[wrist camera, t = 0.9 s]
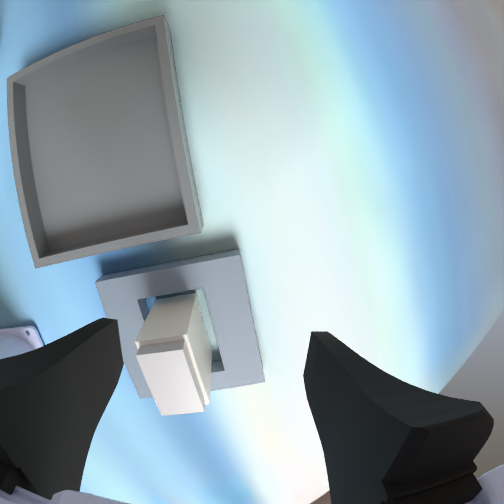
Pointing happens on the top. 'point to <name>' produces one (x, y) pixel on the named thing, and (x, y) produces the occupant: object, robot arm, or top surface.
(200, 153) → the top surface
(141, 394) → the grey flat square frame
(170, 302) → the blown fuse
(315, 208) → the top surface
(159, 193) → the parts tray
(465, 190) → the top surface
